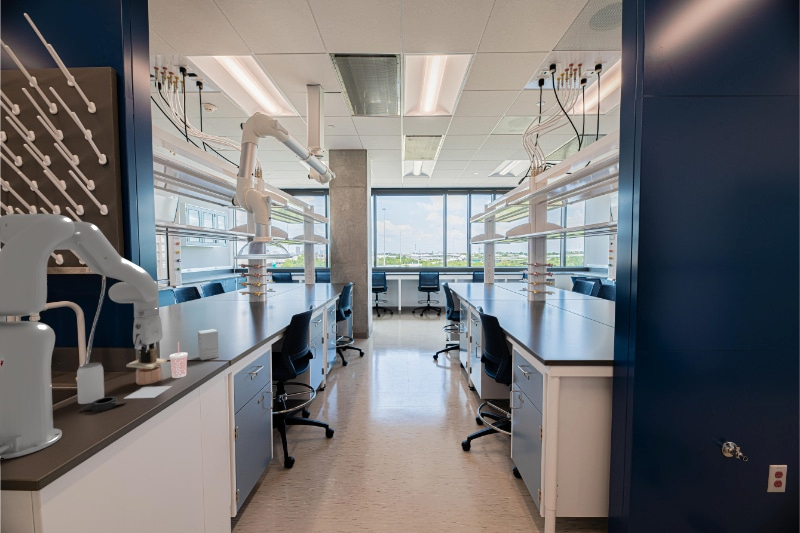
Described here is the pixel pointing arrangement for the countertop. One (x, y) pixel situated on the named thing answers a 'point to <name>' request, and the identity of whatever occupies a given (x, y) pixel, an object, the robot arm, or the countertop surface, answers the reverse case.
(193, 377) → the countertop surface
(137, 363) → the lid
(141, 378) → the bowl
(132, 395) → the mat
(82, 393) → the can
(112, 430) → the countertop surface
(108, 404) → the black winged knob
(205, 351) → the supplement box
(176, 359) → the beverage cup
